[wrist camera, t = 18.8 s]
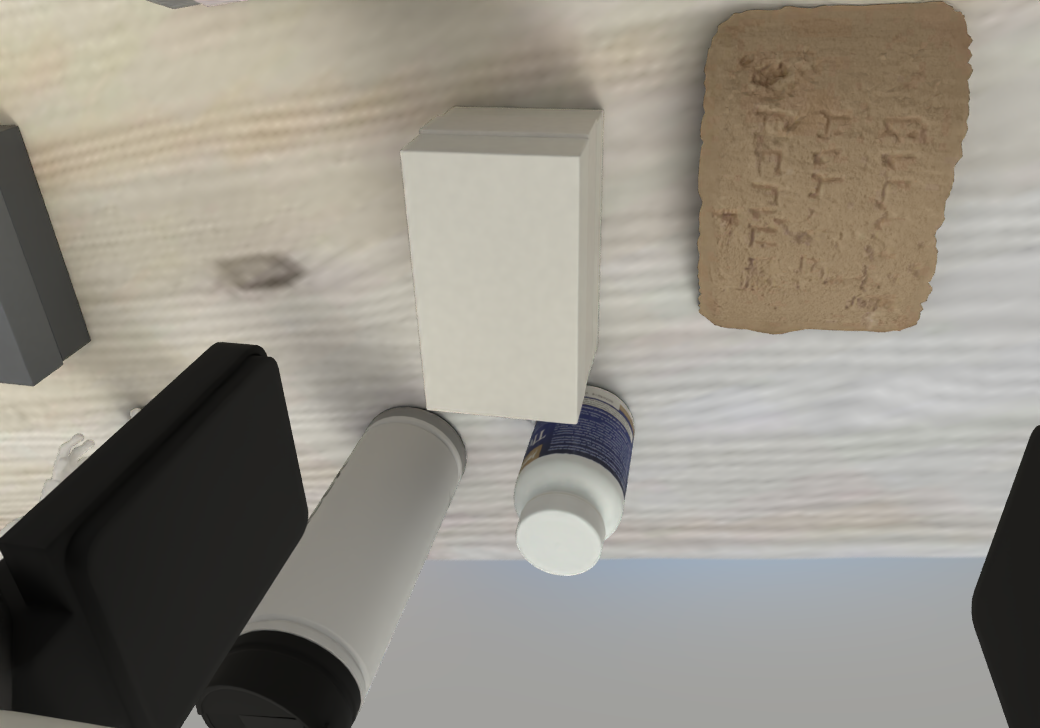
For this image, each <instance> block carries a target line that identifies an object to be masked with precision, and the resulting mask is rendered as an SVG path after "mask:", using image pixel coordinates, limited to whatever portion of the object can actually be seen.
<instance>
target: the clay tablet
mask: <svg viewBox="0 0 1040 728" xmlns="http://www.w3.org/2000/svg"><path fill="white" fill-rule="evenodd" d="M972 41H973V40H972V39H971V36H969V35H968V34H967V26H966V22H965V19H964V15H962V13H961V12H955V11H954V9H953V7H952V6H948V5H947V4H946V3H944V2H942V1H939V2H926V3H904V4H877V5H867V6H852V5H835V6H826V5H823V6H819V7H816V8H812V9H810V8H798V7H793V6H785V7H783V8H782V9H780V10H748V11H745V12H743V13H734V14H733V15H732V16H731V17H730V18H729V19H728V20H727V21H725V22H724V23H721V24H720V25H719V26H718V31H717V33H716V35H715V36H714V37H713V38H712V43H711V47H710V48H709V49H708V54H707V61H706V65H705V68H704V72H705V75H706V79H705V81H704V85H705V87H706V91H705V95H704V102H703V107H704V110H705V114H704V116H703V119H702V122H701V129H700V132H701V135H700V137H701V139H702V141H703V142H704V143H703V145H702V147H701V154H700V160H699V173H698V174H699V175H698V192H699V195H700V197H701V199H702V207H701V209H700V213H699V225H700V226H699V232H700V236H699V238H698V242H697V246H698V251H699V254H700V256H699V262H698V267H697V268H698V270H699V271H698V275H697V276H698V278H699V286H700V289H699V292H700V293H701V295H700V296H699V298H698V300H699V302H700V304H699V305H698V306H699V307H700V309H699V313H700V314H702V315H703V316H705V317H706V318H707V319H708V320H710V321H711V322H712V323H713V324H714V325H718V326H720V327H726V328H736V329H748V330H752V331H757V332H762V333H769V334H784V333H787V332H792V331H798V330H803V329H822V330H844V331H874V332H888V331H896V330H897V331H900V330H902V329H905V328H908V327H911V326H914V325H916V324H917V321H918V320H919V318H920V312H921V311H922V310H923V308H922V306H921V303H923V302H925V301H927V298H928V295H929V294H930V293H931V291H932V287H931V286H930V284H929V283H928V282H930V281H931V279H932V277H933V275H934V273H935V268H936V263H937V253H938V250H937V248H936V242H937V240H936V238H935V234H936V230H937V229H938V228H939V227H940V226H941V225H942V223H943V221H944V220H945V218H944V209H945V201H946V200H947V198H948V197H949V195H950V191H951V189H952V184H953V182H954V167H955V165H956V163H957V162H958V161H959V160H960V158H961V157H962V156H963V155H962V146H961V142H962V140H963V139H964V137H965V135H966V133H967V130H968V126H967V123H966V121H967V118H968V116H969V105H968V102H969V99H970V97H969V94H970V91H969V88H968V81H967V80H968V79H969V78H970V76H971V74H972V71H973V69H972V67H971V65H970V64H968V61H969V59H970V58H971V56H972V54H971V52H970V50H969V49H968V47H969V45H970V44H971V42H972Z"/></svg>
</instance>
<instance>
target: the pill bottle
mask: <svg viewBox="0 0 1040 728" xmlns="http://www.w3.org/2000/svg"><path fill="white" fill-rule="evenodd" d="M634 433H635V429H634V421H633V417H632V415H631V413H630V411H629V409H628V407H627V406H626V405H625V404H624V403H623V401H621V400H620V399H619V398H618V397H617V396H616V395H614V394H612V393H610V392H608V391H606V390H604V389H601V388H598V387H594V386H587V385H586V388H585V396H584V400H583V403H582V407H581V411H580V415H579V419H578V423H577V424H566V423H556V422H545V421H537V422H536V425H535V428H534V431H533V434H532V436H531V439H530V442H529V445H528V447H527V451H526V454H525V456H524V460H523V463H522V466H521V469H520V472H519V475H518V478H517V481H516V484H515V489H514V505H515V509H516V512H517V515H518V517H519V522H518V526H517V530H516V543H517V546H518V549H519V551H520V552H521V554H522V555H523V556H524V558H525V559H526V560H527V561H528V562H529V563H531V564H532V565H533V566H535V567H537V568H538V569H540V570H542V571H545V572H547V573H551V574H555V575H562V576H564V575H565V576H568V575H577V574H580V573H583V572H586V571H587V570H589V569H591V568H592V567H593V566H594V565H595V564H596V563H597V561H598V560H599V558H600V555H601V552H602V547H603V544H604V541H605V540H606V539H607V538H608V537H610V536H611V535H612V534H613V533H614V531H615V530H616V529H617V527H618V525H619V523H620V521H621V518H622V514H623V509H624V502H625V495H626V488H627V481H628V475H629V469H630V462H631V455H632V448H633V441H634Z"/></svg>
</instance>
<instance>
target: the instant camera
mask: <svg viewBox="0 0 1040 728" xmlns="http://www.w3.org/2000/svg"><path fill="white" fill-rule="evenodd" d="M147 1H150V2H153V3H156V4H159V5H163V6H166V7H169V8H172V9H177V8H183V7H188V6H193V5H199V4H203V5H205V6H207V7H209V6H215V5H221V4H227V3H233V2H240V1H246V0H147Z"/></svg>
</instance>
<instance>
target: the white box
mask: <svg viewBox="0 0 1040 728" xmlns="http://www.w3.org/2000/svg"><path fill="white" fill-rule="evenodd" d="M400 158H401V167H402V177H403V187H404V196H405V206H406V216H407V225H408V235H409V245H410V254H411V264H412V274H413V283H414V293H415V303H416V312H417V322H418V332H419V341H420V351H421V361H422V370H423V380H424V390H425V399H426V409H427V410H432V411H442V412H452V413H463V414H473V415H483V416H494V417H504V418H514V419H525V420H535V421H545V422H556V423H566V424H577V423H578V419H579V415H580V411H581V407H582V403H583V400H584V396H585V349H586V287H587V225H588V162H589V140H588V139H583V138H547V137H512V136H476V135H440V134H419V135H418V136H417V137H416V138H414V139H413V140H412V141H411V142H410V143H408V144H407V145H406V146H405V147H404V148H402V149H401V150H400Z"/></svg>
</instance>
